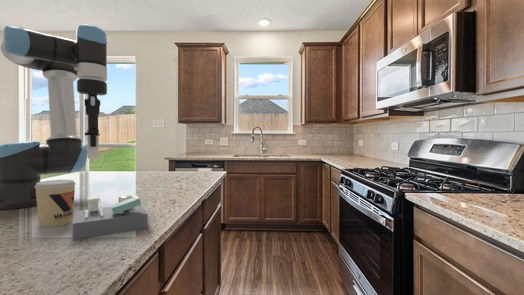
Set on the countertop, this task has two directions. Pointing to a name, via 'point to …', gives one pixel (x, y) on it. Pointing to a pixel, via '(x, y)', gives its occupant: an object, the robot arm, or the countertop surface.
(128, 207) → the block
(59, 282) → the countertop surface
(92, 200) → the slider
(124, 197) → the plunger
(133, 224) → the console
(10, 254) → the countertop surface
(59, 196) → the coffee cup
